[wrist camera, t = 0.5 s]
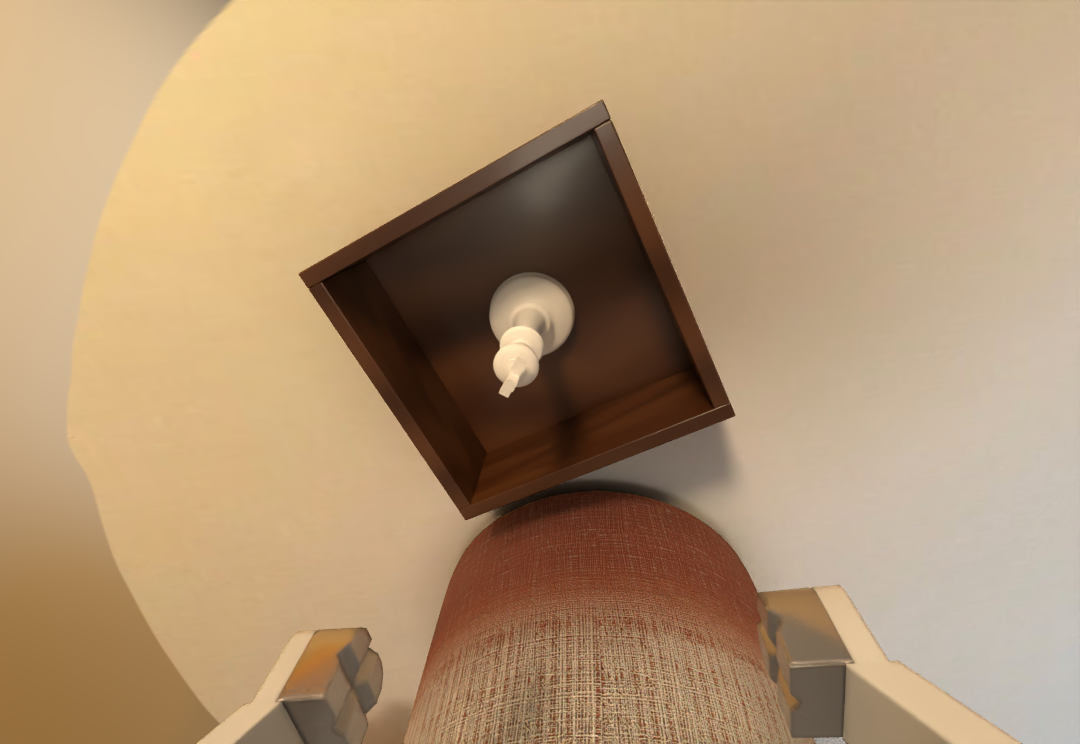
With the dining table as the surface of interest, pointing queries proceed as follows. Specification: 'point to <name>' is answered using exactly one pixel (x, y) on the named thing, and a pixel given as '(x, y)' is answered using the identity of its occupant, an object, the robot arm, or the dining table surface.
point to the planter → (598, 633)
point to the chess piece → (528, 325)
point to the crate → (470, 345)
